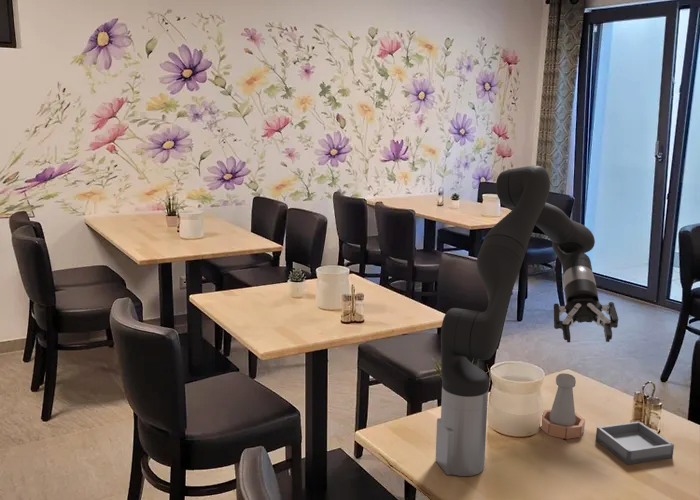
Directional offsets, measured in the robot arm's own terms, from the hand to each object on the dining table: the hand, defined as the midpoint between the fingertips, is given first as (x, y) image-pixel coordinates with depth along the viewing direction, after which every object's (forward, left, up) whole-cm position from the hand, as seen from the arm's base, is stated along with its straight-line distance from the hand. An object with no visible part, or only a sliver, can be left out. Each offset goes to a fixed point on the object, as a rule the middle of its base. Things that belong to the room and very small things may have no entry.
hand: (588, 339), depth 156 cm
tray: (+3, -14, -20) cm, 25 cm away
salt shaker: (-7, -2, -20) cm, 22 cm away
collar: (-7, -2, -20) cm, 21 cm away
